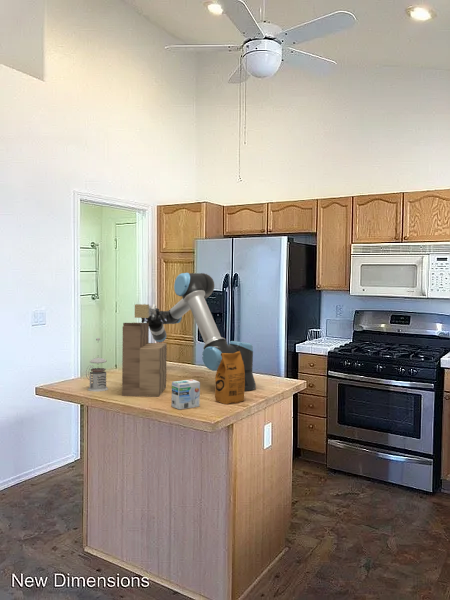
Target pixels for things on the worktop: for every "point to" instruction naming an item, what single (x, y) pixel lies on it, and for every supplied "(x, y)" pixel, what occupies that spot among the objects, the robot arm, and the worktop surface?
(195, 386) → the light bulb box
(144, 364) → the stepped stand
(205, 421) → the worktop surface
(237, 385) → the coffee package
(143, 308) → the wooden bar
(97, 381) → the french press
